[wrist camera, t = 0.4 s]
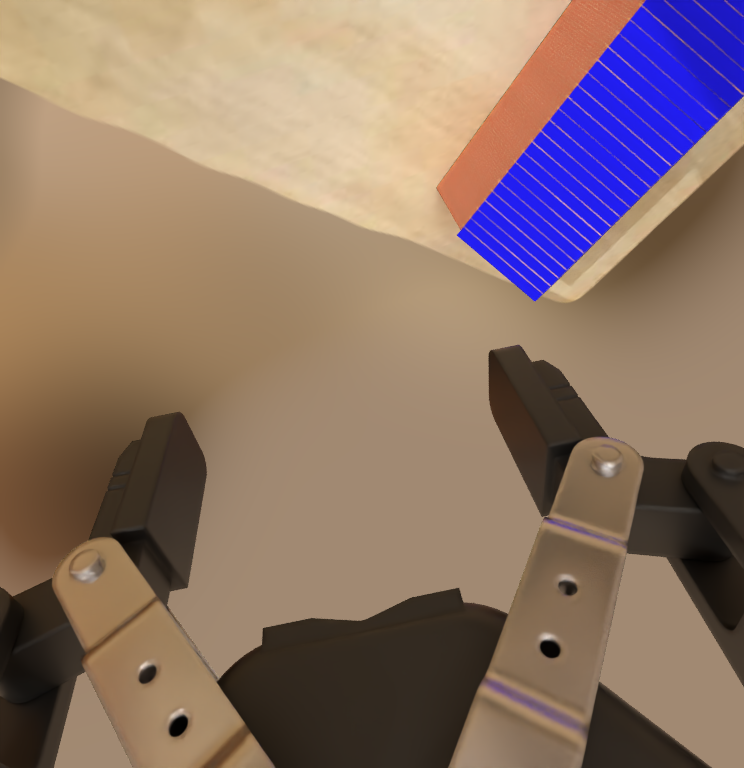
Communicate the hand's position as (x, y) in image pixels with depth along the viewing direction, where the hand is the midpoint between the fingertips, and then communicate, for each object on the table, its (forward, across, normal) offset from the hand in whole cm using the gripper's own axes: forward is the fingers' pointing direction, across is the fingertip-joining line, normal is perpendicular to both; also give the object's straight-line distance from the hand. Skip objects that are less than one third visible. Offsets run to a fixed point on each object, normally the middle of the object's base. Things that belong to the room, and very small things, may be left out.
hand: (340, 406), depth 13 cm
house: (+33, -20, +2) cm, 39 cm away
